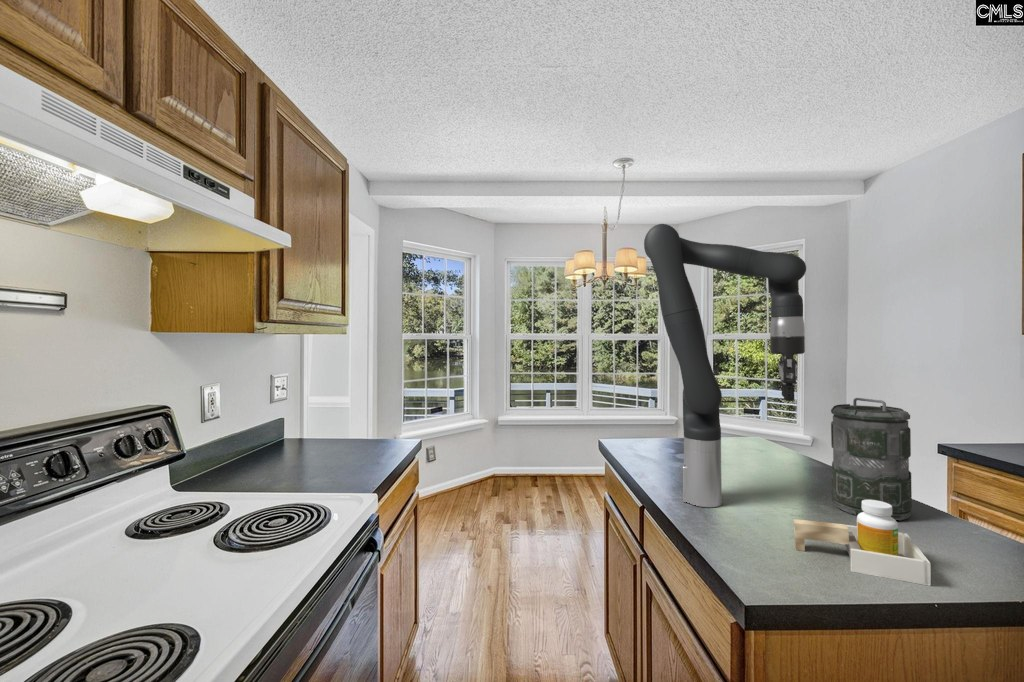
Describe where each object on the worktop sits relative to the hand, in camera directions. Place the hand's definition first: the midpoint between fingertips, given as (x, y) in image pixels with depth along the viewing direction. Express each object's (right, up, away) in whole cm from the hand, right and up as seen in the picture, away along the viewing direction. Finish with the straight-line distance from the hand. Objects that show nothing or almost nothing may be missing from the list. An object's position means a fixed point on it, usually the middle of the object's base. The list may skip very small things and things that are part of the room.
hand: (787, 398), depth 116 cm
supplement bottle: (+1, -28, -28) cm, 40 cm away
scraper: (-7, -28, -24) cm, 37 cm away
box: (+1, -28, -28) cm, 40 cm away
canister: (+20, -28, -1) cm, 34 cm away
